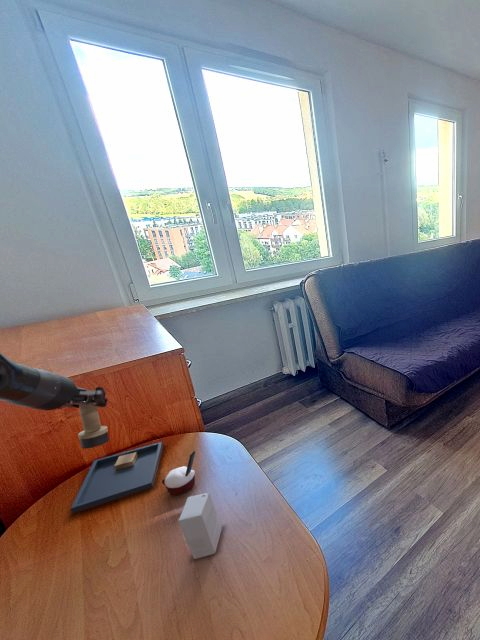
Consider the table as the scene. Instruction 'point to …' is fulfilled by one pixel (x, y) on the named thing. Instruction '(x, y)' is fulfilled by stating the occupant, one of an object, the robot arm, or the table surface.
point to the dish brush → (92, 427)
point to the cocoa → (180, 478)
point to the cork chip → (126, 461)
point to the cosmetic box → (200, 525)
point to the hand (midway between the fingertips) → (95, 404)
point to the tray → (118, 477)
